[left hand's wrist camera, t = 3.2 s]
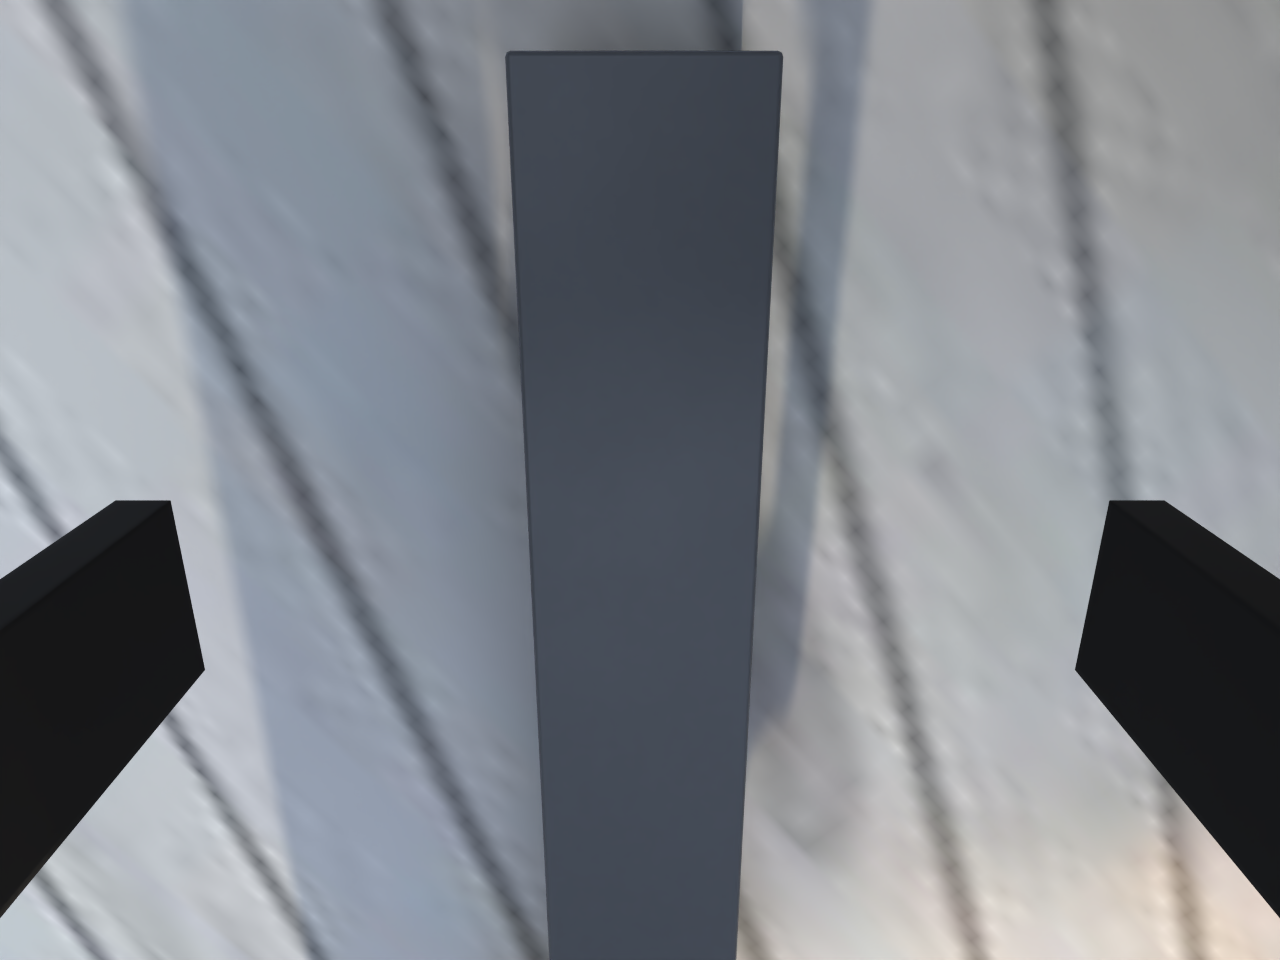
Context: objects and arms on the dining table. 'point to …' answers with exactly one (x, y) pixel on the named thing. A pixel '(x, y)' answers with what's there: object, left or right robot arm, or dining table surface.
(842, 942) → the dining table surface
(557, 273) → the beam
